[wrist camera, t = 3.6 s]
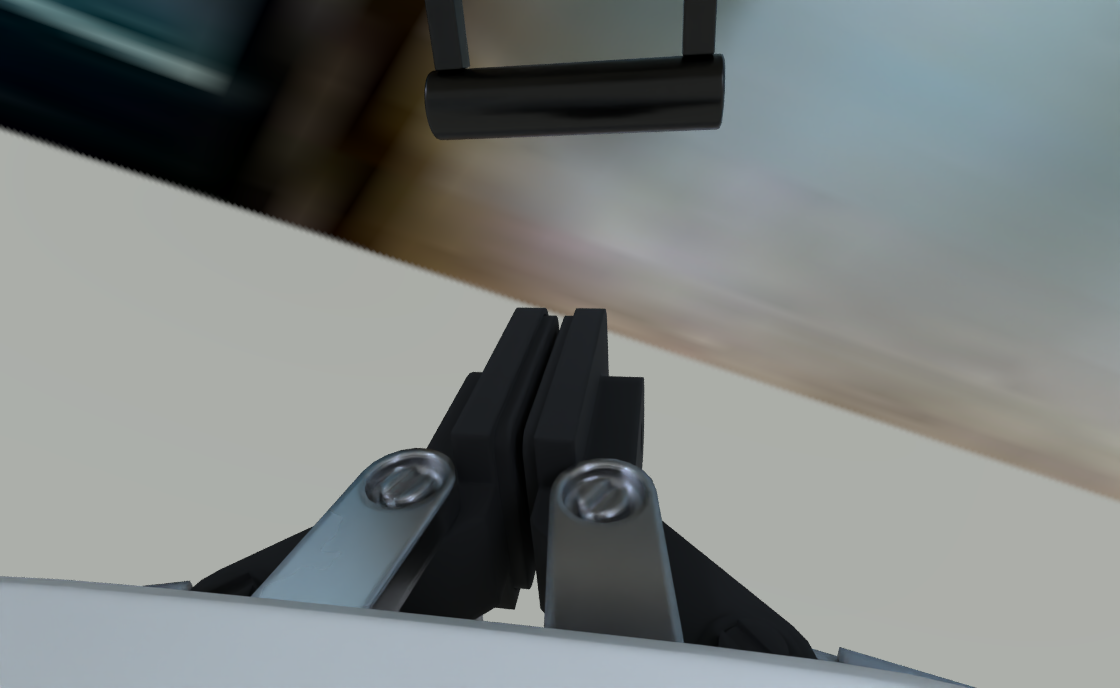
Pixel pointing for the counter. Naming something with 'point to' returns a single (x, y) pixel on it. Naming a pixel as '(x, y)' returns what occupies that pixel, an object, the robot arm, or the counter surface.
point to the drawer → (573, 87)
